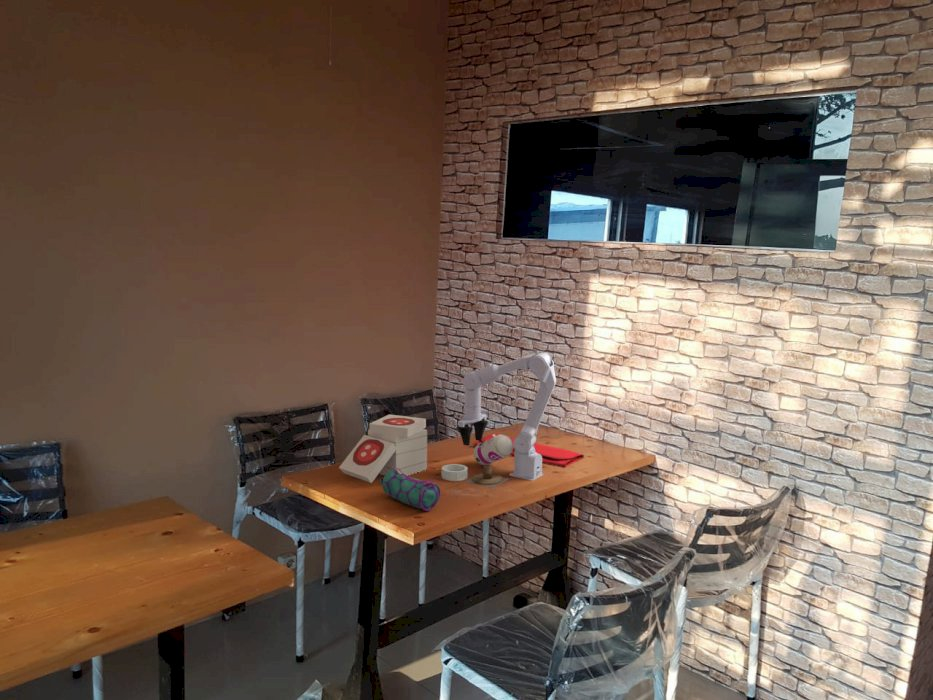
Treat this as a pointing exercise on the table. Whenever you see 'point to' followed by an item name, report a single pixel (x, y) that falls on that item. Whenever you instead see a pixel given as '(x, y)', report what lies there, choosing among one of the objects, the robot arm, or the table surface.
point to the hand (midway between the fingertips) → (472, 442)
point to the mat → (487, 485)
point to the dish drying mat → (547, 453)
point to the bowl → (454, 472)
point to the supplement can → (493, 449)
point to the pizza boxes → (389, 448)
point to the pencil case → (410, 490)
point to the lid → (487, 477)
